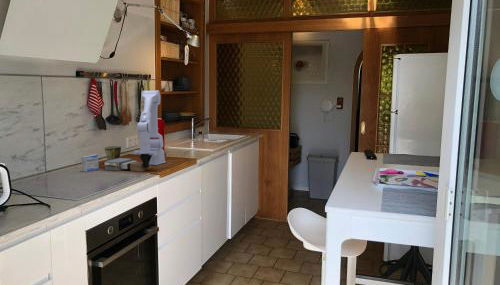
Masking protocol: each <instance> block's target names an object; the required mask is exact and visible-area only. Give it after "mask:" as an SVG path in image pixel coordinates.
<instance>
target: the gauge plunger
mask: <svg viewBox="0 0 500 285" xmlns="http://www.w3.org/2000/svg"><path fill="white" fill-rule="evenodd" d="M133 162H139V161H138V160H133V161H130V160H129V161H125V162H121V163H120V165H119V166H117V163H115V165H116V170H117V167H120V169H124V170H130V163H133Z"/></svg>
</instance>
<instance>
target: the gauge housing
mask: <svg viewBox="0 0 500 285" xmlns="http://www.w3.org/2000/svg"><path fill="white" fill-rule="evenodd" d="M129 160H130V161H134V160H133V158H127V157H125V158H124V157H120V158H117V159H113V160H109V161H108V160H105V161H104V168H105V171H115V172H117V171H118V172H120V171H123V170H125V169H120V167H117V170H116V165H115V163H117V166H119V165H120V163H121V162H125V161H129Z"/></svg>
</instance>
